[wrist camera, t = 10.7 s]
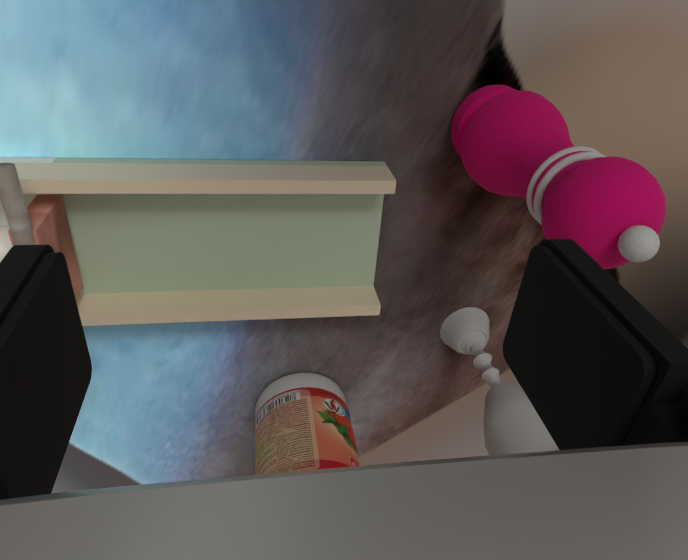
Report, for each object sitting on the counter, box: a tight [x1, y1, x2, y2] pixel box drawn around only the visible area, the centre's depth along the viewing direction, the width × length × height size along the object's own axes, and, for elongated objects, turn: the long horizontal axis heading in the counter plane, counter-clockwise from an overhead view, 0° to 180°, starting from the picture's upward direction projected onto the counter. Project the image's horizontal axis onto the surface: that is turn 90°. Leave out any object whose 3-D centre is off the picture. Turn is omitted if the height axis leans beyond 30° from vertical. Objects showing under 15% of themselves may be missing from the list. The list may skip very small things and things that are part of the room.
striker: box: [0, 163, 83, 299], centre depth 34 cm, size 16×2×13 cm, turn 176°
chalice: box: [440, 307, 559, 455], centre depth 45 cm, size 7×7×18 cm
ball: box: [0, 225, 13, 262], centre depth 38 cm, size 4×4×4 cm
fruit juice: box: [254, 373, 360, 475], centre depth 43 cm, size 9×9×28 cm
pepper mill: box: [451, 85, 666, 269], centre depth 33 cm, size 7×7×20 cm
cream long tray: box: [0, 157, 396, 326], centre depth 39 cm, size 12×32×8 cm, turn 86°
